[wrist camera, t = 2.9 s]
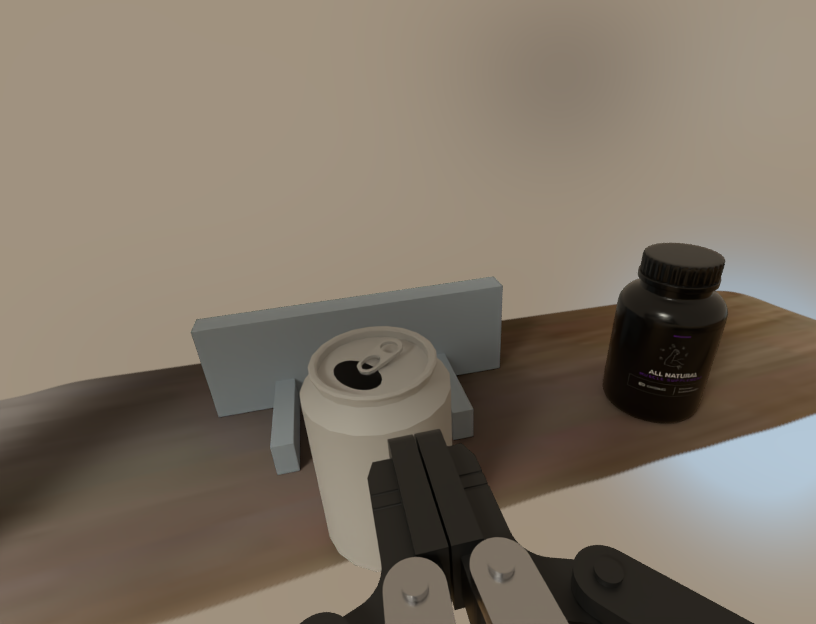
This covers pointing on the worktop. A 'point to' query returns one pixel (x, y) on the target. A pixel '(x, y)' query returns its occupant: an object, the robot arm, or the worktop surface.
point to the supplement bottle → (666, 333)
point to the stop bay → (321, 321)
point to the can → (368, 421)
